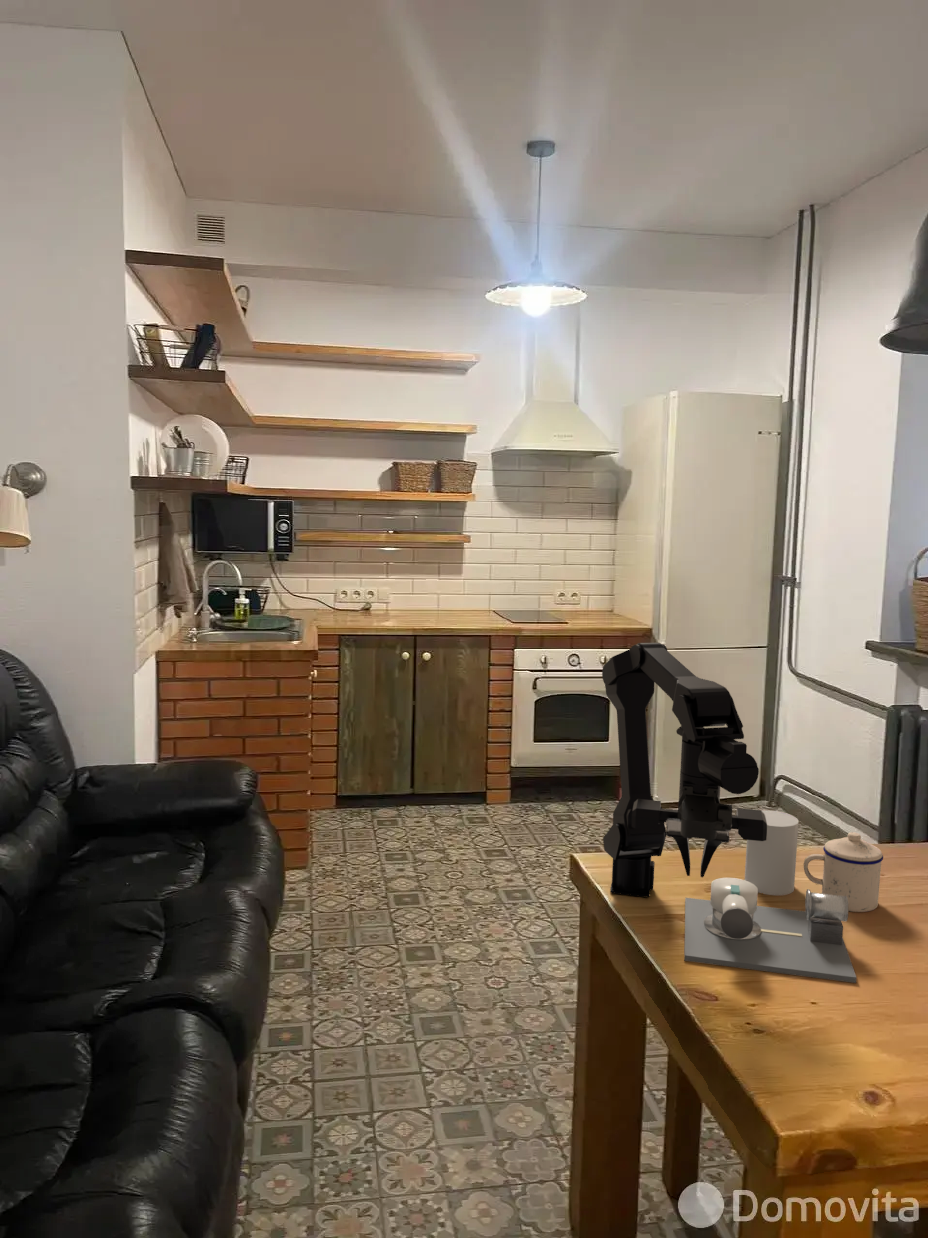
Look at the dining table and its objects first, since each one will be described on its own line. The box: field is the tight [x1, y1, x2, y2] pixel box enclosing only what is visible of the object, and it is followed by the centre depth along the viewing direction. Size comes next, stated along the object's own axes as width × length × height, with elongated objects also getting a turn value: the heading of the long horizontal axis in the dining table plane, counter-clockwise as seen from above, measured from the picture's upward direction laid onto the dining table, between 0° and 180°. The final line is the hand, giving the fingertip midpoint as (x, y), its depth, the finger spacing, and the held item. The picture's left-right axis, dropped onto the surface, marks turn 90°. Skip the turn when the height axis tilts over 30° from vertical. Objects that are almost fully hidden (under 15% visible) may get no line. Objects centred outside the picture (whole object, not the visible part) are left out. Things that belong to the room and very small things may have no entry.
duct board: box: [683, 897, 858, 984], centre depth 139 cm, size 23×20×1 cm
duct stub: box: [704, 908, 761, 940], centre depth 141 cm, size 8×8×3 cm
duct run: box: [804, 889, 849, 945], centre depth 137 cm, size 6×4×7 cm
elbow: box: [709, 877, 759, 939], centre depth 137 cm, size 13×7×4 cm, turn 166°
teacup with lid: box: [803, 831, 884, 913], centre depth 153 cm, size 12×9×12 cm
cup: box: [744, 809, 799, 896], centre depth 158 cm, size 8×8×12 cm
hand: (695, 875), depth 135 cm, fingers closed
